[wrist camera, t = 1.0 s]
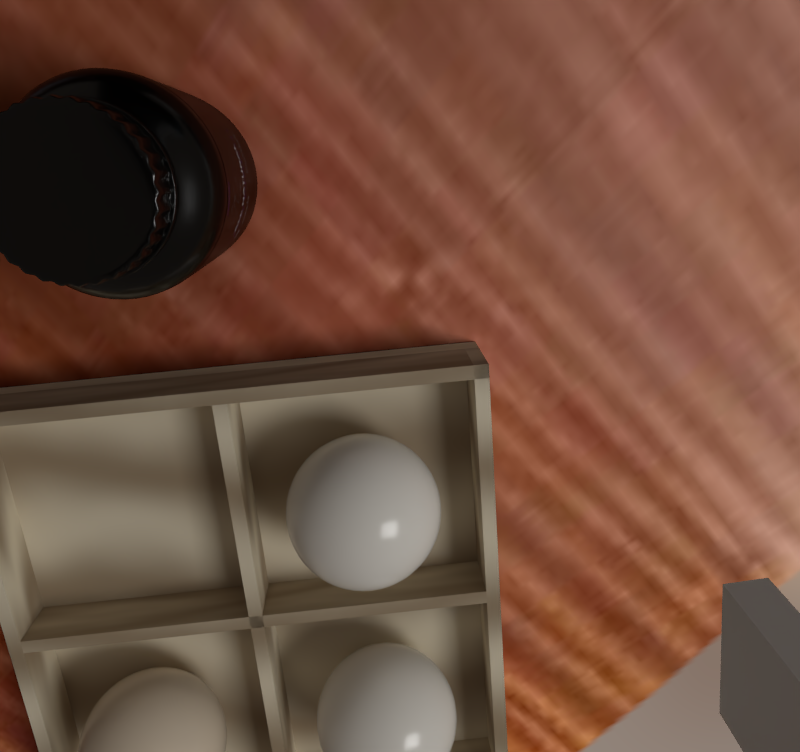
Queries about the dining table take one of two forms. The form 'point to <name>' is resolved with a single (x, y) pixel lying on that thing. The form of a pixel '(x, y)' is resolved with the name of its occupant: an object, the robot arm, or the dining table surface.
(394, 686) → the egg
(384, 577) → the egg
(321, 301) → the dining table surface
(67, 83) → the supplement bottle
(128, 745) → the egg
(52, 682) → the crate
